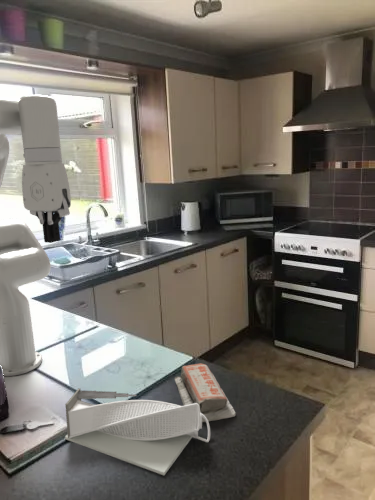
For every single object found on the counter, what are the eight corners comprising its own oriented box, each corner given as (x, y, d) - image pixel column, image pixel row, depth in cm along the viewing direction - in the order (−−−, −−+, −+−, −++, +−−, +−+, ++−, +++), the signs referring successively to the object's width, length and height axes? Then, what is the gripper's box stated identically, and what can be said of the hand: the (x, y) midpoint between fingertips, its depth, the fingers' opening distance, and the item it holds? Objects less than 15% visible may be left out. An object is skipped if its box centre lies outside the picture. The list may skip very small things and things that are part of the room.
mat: (65, 439, 83) (64, 436, 83) (100, 409, 93) (99, 406, 92) (164, 475, 73) (164, 472, 73) (191, 437, 82) (191, 435, 82)
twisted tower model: (80, 425, 89) (211, 428, 86) (66, 448, 81) (209, 452, 78) (78, 388, 88) (210, 390, 85) (63, 407, 80) (207, 409, 77)
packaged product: (173, 364, 102) (211, 359, 104) (173, 382, 103) (212, 376, 106) (190, 406, 85) (236, 398, 87) (191, 426, 86) (236, 418, 88)
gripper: (4, 158, 88) (15, 242, 92) (56, 156, 82) (66, 247, 86) (31, 157, 95) (40, 236, 99) (82, 156, 88) (89, 240, 92)
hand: (52, 241), depth 92 cm, fingers closed
